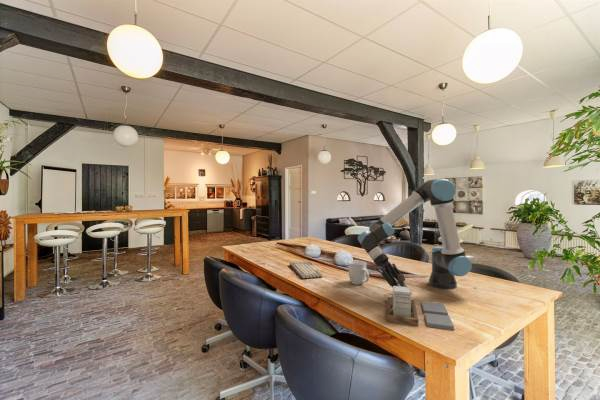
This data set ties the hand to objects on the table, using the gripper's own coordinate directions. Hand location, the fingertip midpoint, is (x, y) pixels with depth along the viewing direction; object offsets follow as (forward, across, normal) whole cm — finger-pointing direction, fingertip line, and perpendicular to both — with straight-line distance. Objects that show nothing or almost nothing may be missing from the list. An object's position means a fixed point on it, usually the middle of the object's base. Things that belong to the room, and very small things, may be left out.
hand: (407, 295), depth 136 cm
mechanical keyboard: (-52, -4, -60) cm, 79 cm away
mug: (-22, -9, -30) cm, 38 cm away
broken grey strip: (+14, +1, +6) cm, 15 cm away
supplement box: (+6, +13, -1) cm, 14 cm away
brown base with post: (+4, +8, -3) cm, 9 cm away
